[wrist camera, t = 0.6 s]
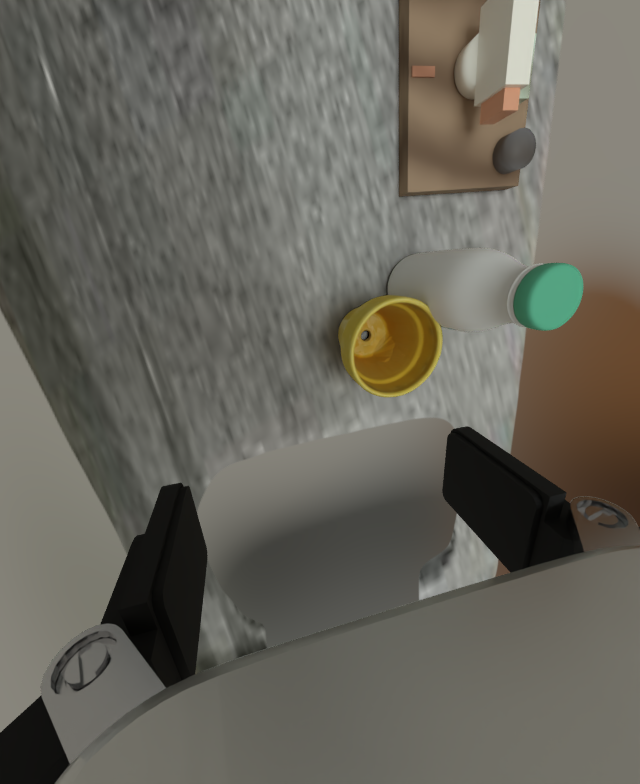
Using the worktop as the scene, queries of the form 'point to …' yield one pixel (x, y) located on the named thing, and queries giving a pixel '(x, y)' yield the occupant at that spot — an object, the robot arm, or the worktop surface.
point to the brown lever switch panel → (451, 108)
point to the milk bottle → (488, 289)
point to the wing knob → (498, 58)
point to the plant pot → (390, 344)
